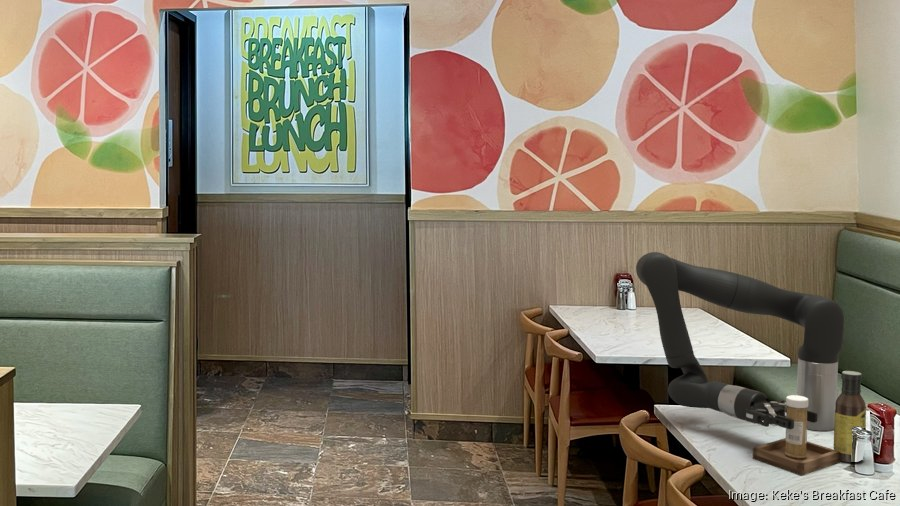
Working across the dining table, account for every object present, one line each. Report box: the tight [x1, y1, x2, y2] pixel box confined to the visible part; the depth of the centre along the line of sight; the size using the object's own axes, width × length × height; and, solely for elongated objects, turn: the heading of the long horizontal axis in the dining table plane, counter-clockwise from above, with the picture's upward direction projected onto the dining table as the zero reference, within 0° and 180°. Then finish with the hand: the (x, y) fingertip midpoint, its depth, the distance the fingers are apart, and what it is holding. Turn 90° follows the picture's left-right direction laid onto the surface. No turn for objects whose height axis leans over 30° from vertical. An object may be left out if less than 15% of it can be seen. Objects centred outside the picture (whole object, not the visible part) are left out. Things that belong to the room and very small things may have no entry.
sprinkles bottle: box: [785, 394, 808, 459], centre depth 173 cm, size 5×5×14 cm
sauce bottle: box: [833, 370, 867, 463], centre depth 173 cm, size 6×6×20 cm
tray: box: [752, 437, 840, 476], centre depth 173 cm, size 14×12×2 cm
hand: (804, 421), depth 171 cm, fingers open, 8 cm apart
